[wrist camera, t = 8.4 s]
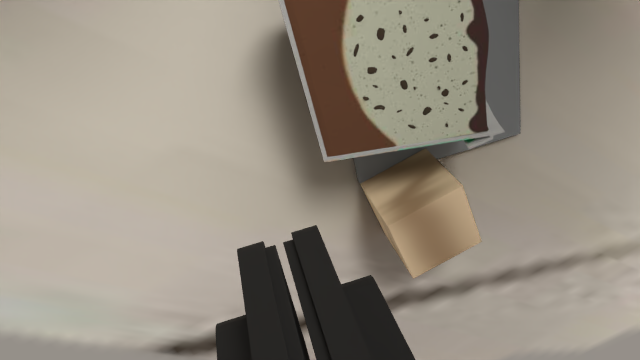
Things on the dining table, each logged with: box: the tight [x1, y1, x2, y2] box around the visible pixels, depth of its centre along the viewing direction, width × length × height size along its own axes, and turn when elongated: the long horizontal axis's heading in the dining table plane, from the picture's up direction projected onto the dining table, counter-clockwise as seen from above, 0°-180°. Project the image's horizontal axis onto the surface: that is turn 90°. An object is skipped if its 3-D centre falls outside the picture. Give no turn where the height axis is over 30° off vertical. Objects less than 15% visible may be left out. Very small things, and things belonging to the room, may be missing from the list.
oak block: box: [360, 148, 482, 279], centre depth 33 cm, size 5×5×5 cm
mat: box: [354, 0, 520, 183], centre depth 30 cm, size 12×18×1 cm, turn 12°
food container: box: [278, 0, 505, 163], centre depth 27 cm, size 12×6×10 cm
